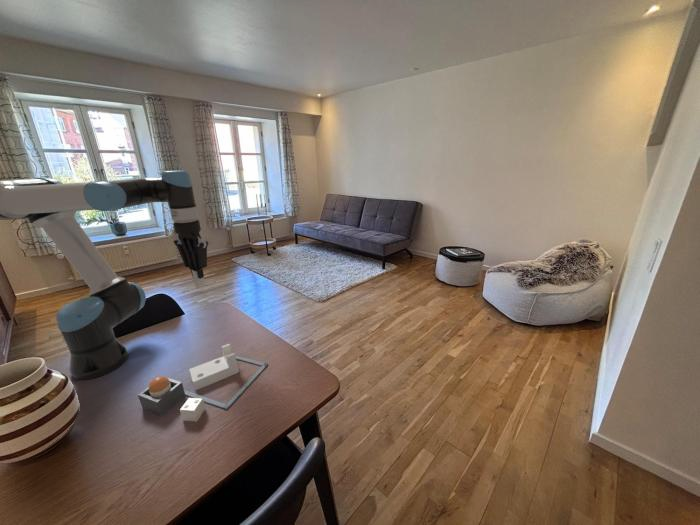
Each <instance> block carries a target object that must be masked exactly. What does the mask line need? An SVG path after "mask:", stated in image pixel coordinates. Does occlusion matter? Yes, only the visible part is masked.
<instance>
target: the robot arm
mask: <svg viewBox="0 0 700 525" xmlns="http://www.w3.org/2000/svg"><path fill="white" fill-rule="evenodd" d="M160 175H161V177H132V178H131V177H130V178H126V179H117V180H116V179H114V180H99V181H98V180H97V181H85V182H71V183H70V182H69V183H63V182H61V181H59V180H57V179H54V178H50V177H32V178H19V179H18V178H16V179H0V221H14V220H23V219H27V220H28V222H29V223H31V225H32V226H35V227H37V228H41V229H42V230H43V231H44V232H45V233H46V235H47V236H48V237H49V239H51V241H52V243H54V244H55V246H56V247H57V249H58V250H59V251H60V252H61V254H62V255H63V256H64V257H65V258H66V260H67V261H68V262H69V263H70V265H71V266H72V268H74V270H75V272H77V274H78V275H79V276H80V278H82V280H83V282H85V284H86V285H87V287H89V291H88V292H89V293H88V296H87V297H83V298H80V299H77V300H73V301H71V302H69V303H67V304H65V305H64V306H63V307H62V308H60V309H59V310H58V311H57V313H56V314H55V316H56V317H55V320H56V323H57V327H58V330H59V331H60V333H61V335H62V337H63V340H64V342H65V344H66V346H67V348H68V350H69V353H70V360H69V361H70V362H69V372H70V374H71V377H72V378H73V379H74V380H78V381H86V380H93V379H95V378H99V377H102V376H104V375H107V374H109V373H111V372H112V371H115V370H117V369H118V368H119V367H121V366H122V365H123V364H124V363H125V362H126V361H127V359H128V358H129V352H128V350H127V348H126V347H125V345H123V344H122V343H121V342H120V340H118V339H117V338H116V335H115V332H114V330H113V329H114V328H115V327H116V326H118V325H119V324H121V323H122V322H124V321H125V320H127V319H129V318H130V317H131V316H134V315H136V313H138V312H139V311H140V310H141V309H142V308H144V306H145V305H146V300H147V298H146V297H147V296H146V292H145V291H144V289H143V288H142V287H141V286H140V285H139V284H136V283H135V282H133V281H132V282H131V281H128V280H127V279H126V277H122V276H119V275H118V274H116V272H115V271H114V270H113V268H112V267H111V266H110V264H109V262H107V260H106V259H105V257H104V256H103V255H102V253H101V252H100V251H99V250H98V247H97V246H96V245H95V244H94V243H93V241H92V240H91V238H90V237H89V236H88V235H87V233H86V232H85V230H84V229H83V228H82V227H81V225H80V224H79V223H78V221H77V219H76V218H75V216H76V212H80V211H81V212H83V211H99V212H111V211H118V210H119V209H120V210H121V209H124V208H128V207H135V206H140V205H145V204H150V203H167V204H168V208H169V210H170V216H171V219H172V220H171V221H173V223H172V225H173V229H174V233H175V234H177V239H174V240H173V244H174V245H175V246H176V249H177V251H178V252H179V254H180V257H181V259H182V262H183V265H184V266H185V268H188V269H189V270H190V272H191V276H192V278H193V281H194V286H195V288H197V289H199V288H202V287H204V286H205V285H206V284H205V278H204V277H205V273H204V271H203V270H204V269H205V268H208V267H207V266H208V245H209V242H208V241H206V240H205V241H204V240H203V238H202V236H201V235H200V232H201V230H202V229H201V224H200V223H201V222H200V220H199V214H198V213H199V212H198V208H197V203H196V200H195V195H194V189H193V183H192V180H191V177H190V174H189V172H188V171H186V170H164V171H162V172H161V174H160Z"/></svg>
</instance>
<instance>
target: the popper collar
mask: <svg viewBox="0 0 700 525" xmlns="http://www.w3.org/2000/svg"><path fill="white" fill-rule="evenodd" d="M165 377H166V376H165ZM166 378H168V379H169V381H170V385H171V389H170V390H169V391H168V392H166V393H165V394H164V395H163V396H161V397H160V398H159V399H156V398H153V397H151V395H150V392H149V386H147V388H145V389H144V390H142V391H141V392H139V394H137V397H138V399H139V402H140V405H141V407H142V410H146V411H148V412H151V413H154V414H156V415H159V416H160V417H163V416H164V415H165V414H166V413H167V412H168V411H169V410H171V409H172V408H173V407H174V406H175V405H176V404H178V403H179V402H180V401H181V400H182V399H183V398H184V397H186V395H185V392H184V390H185V389H184V386H183V382H182V381H179V380H177V379H173V378H171V377H166Z"/></svg>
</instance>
